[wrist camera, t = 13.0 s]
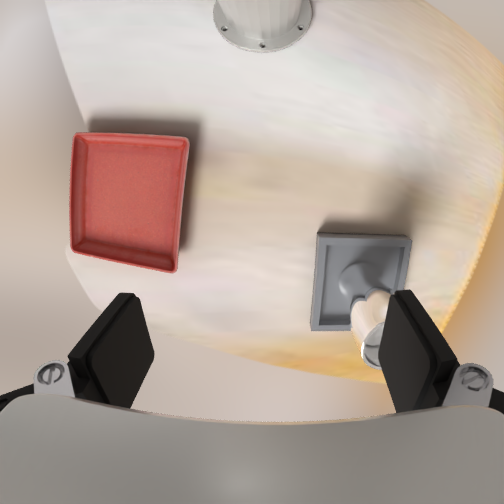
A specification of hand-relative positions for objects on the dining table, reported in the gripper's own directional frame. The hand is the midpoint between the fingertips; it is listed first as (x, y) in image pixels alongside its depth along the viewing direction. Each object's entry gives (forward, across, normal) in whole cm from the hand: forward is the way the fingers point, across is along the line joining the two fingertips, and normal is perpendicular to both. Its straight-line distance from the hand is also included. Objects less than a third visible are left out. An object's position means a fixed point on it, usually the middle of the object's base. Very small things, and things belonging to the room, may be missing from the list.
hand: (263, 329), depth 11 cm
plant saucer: (+30, +20, 0) cm, 37 cm away
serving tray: (+29, -12, +14) cm, 34 cm away
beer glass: (+29, -12, +13) cm, 34 cm away
